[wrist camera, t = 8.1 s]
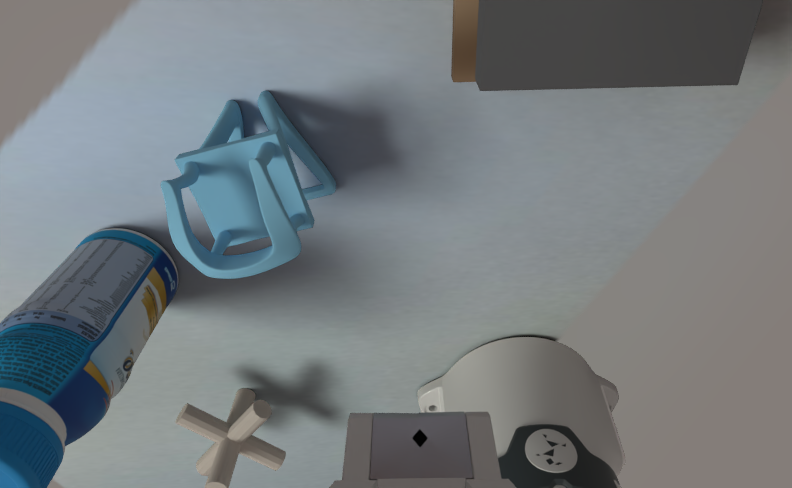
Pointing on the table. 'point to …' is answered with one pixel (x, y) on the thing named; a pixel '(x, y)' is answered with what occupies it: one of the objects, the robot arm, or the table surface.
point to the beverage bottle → (76, 348)
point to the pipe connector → (231, 438)
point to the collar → (612, 43)
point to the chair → (245, 193)
